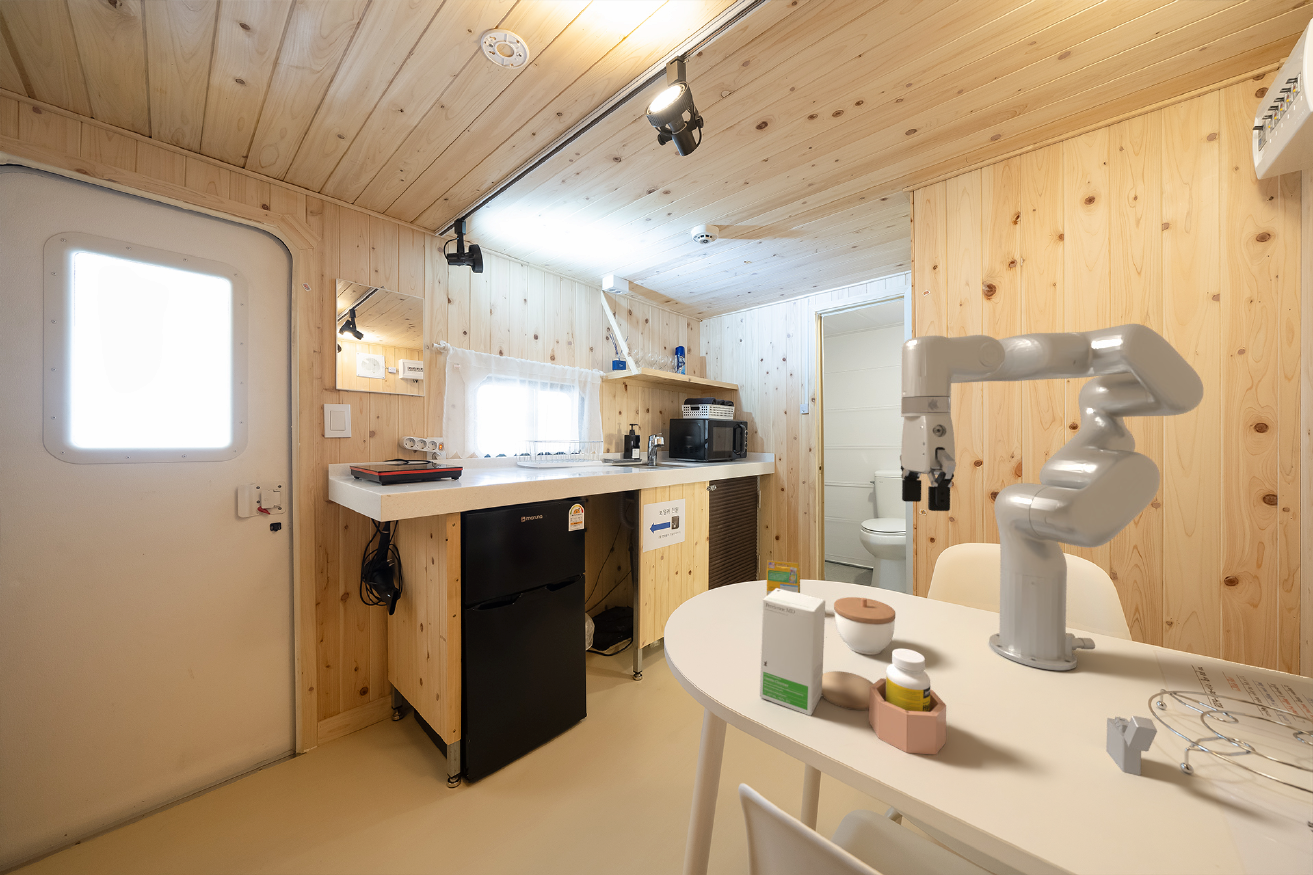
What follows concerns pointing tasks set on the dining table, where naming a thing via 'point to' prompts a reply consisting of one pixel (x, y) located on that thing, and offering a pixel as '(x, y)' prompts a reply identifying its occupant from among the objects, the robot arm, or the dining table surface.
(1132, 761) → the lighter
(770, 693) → the skincare box
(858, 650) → the lidded jar
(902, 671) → the supplement bottle
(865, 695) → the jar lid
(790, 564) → the crayon box
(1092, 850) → the dining table surface
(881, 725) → the terracotta octagonal planter pot
